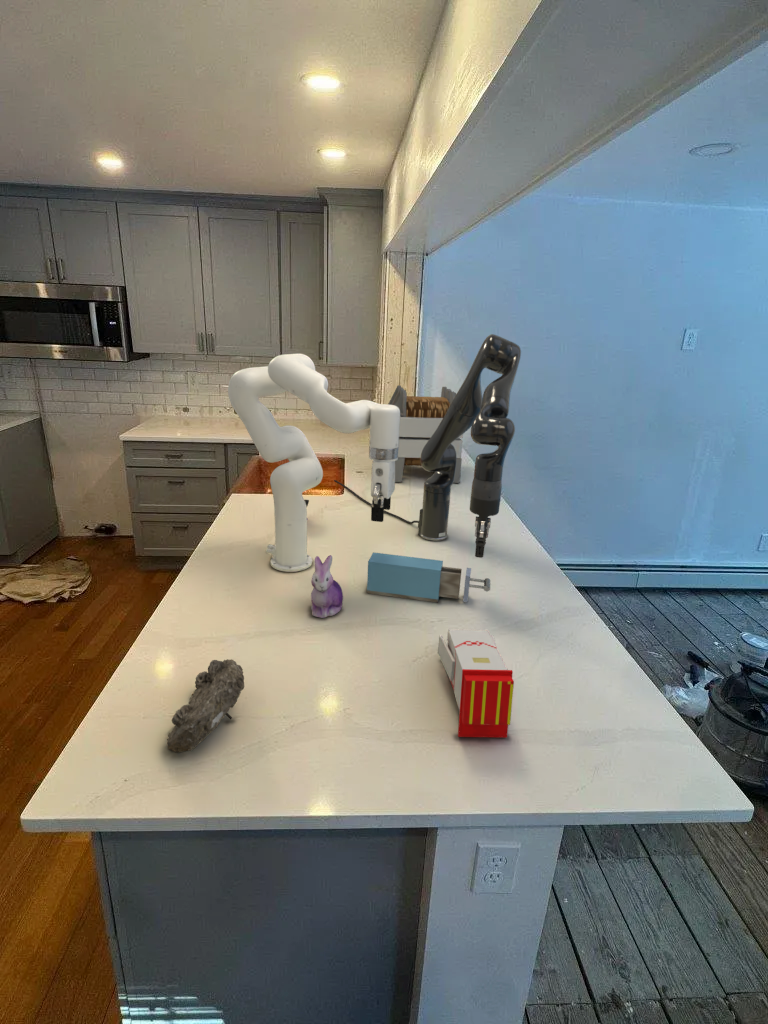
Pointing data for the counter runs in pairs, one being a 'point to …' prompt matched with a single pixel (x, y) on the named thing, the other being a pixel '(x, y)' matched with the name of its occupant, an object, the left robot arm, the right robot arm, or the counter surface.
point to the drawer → (458, 583)
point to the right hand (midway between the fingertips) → (479, 556)
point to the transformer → (421, 427)
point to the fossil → (206, 705)
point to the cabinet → (404, 577)
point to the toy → (478, 682)
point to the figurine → (325, 590)
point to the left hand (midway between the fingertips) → (380, 514)
